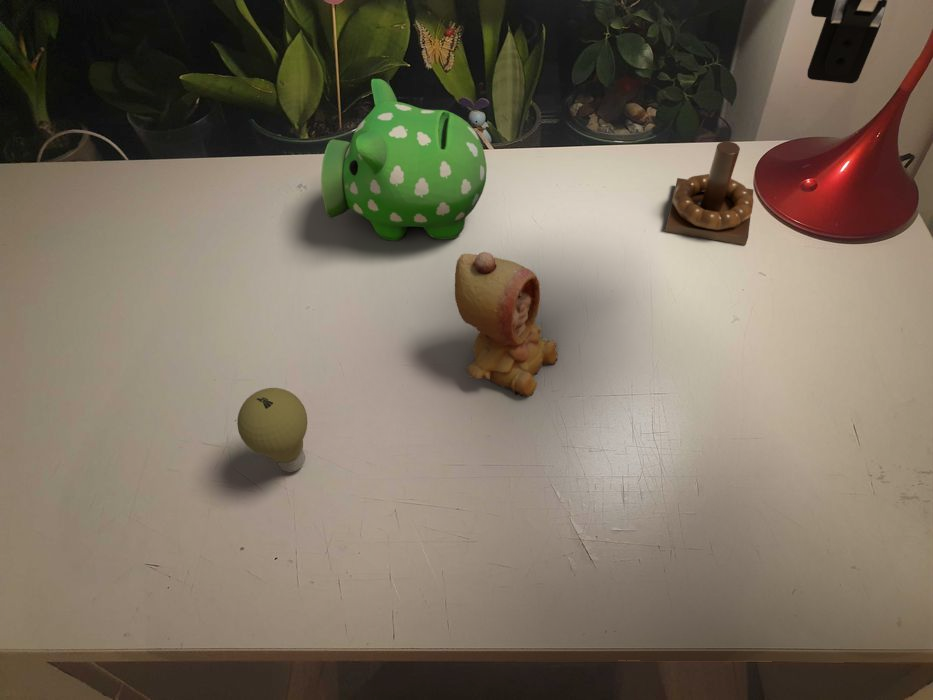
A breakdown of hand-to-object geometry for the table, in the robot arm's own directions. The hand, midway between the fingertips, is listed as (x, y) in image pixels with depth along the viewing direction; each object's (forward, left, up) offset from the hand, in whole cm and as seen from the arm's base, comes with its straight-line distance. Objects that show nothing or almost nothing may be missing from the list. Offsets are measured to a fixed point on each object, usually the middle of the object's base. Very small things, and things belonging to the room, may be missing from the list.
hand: (831, 46), depth 48 cm
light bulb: (+36, +31, -28) cm, 55 cm away
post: (+4, -14, -28) cm, 31 cm away
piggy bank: (+38, -4, -28) cm, 47 cm away
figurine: (+21, +14, -28) cm, 38 cm away
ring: (+4, -14, -25) cm, 29 cm away
